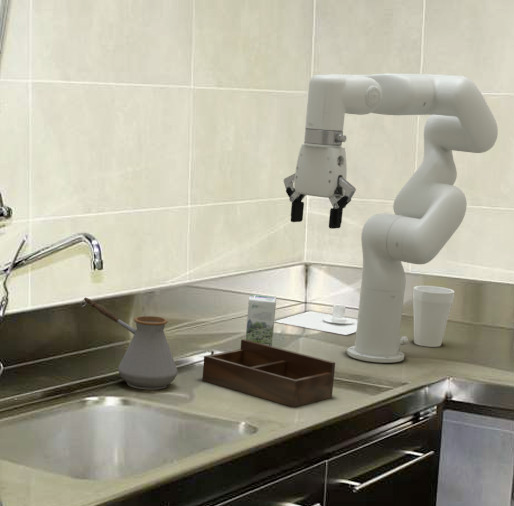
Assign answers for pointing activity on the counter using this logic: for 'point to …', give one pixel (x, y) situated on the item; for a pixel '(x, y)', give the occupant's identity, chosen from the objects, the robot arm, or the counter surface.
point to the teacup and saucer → (324, 321)
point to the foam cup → (431, 314)
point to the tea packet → (261, 319)
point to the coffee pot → (145, 352)
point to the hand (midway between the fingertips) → (315, 224)
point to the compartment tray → (271, 373)
